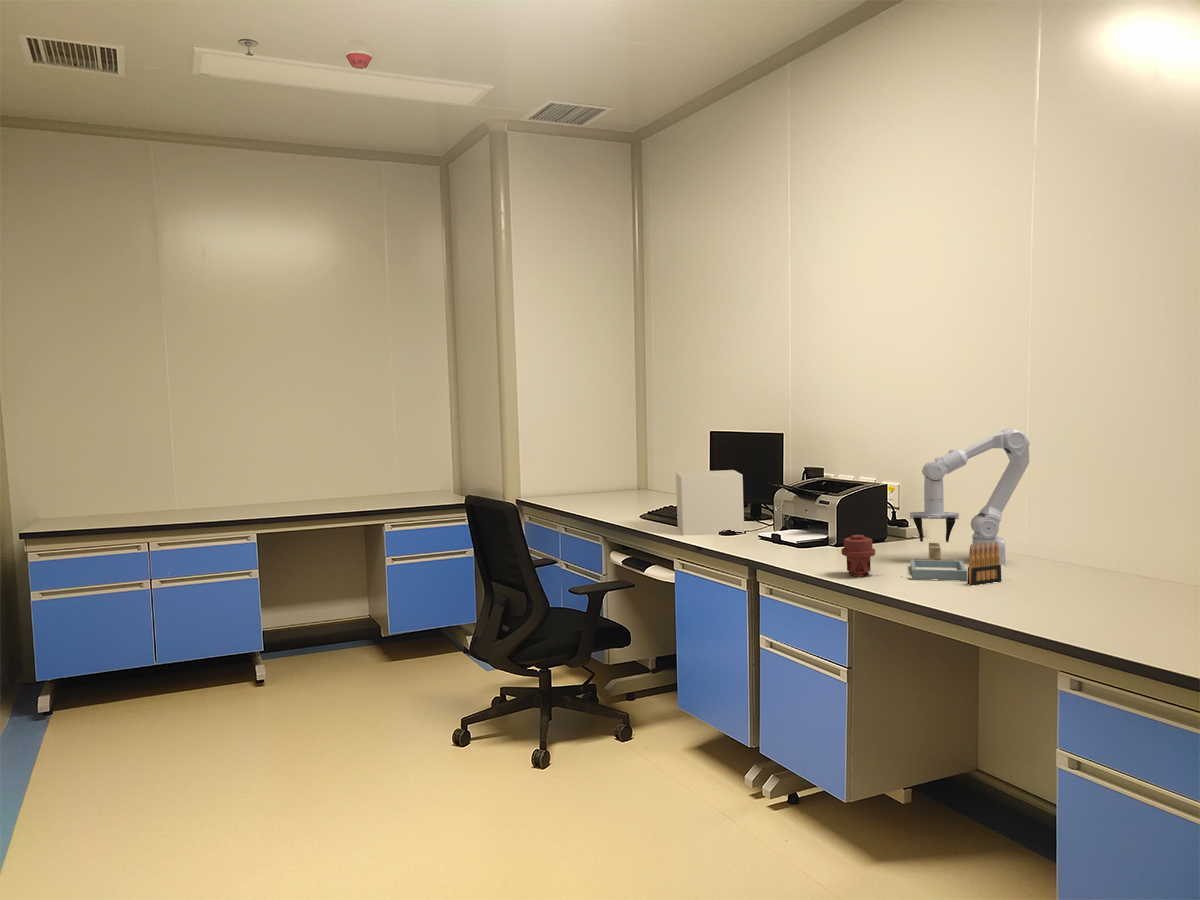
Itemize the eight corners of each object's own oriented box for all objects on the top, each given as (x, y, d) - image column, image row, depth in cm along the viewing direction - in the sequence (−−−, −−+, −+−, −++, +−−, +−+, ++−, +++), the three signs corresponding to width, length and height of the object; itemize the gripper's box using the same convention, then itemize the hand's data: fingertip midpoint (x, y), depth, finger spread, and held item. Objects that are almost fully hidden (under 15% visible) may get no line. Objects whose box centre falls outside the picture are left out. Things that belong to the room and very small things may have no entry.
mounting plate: (953, 562, 278) (953, 559, 278) (956, 569, 269) (956, 565, 268) (914, 561, 282) (914, 558, 282) (915, 568, 272) (915, 564, 272)
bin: (962, 570, 266) (962, 560, 266) (967, 581, 252) (966, 571, 252) (910, 569, 271) (910, 559, 271) (912, 579, 257) (912, 569, 256)
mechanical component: (873, 572, 269) (877, 579, 259) (840, 571, 271) (843, 578, 261) (873, 533, 268) (876, 538, 258) (840, 533, 270) (842, 538, 260)
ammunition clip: (971, 585, 246) (971, 544, 245) (967, 584, 248) (966, 543, 247) (1001, 582, 249) (1001, 541, 249) (997, 580, 251) (996, 540, 250)
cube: (735, 526, 372) (733, 469, 370) (744, 534, 351) (742, 474, 349) (677, 528, 372) (675, 472, 370) (683, 536, 350) (681, 477, 349)
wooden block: (938, 559, 279) (938, 542, 279) (940, 565, 270) (940, 547, 270) (928, 559, 280) (928, 542, 279) (930, 564, 271) (930, 547, 271)
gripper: (910, 500, 272) (910, 543, 273) (959, 500, 268) (959, 543, 269) (909, 497, 279) (909, 539, 280) (957, 497, 274) (957, 540, 275)
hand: (934, 541), depth 275 cm, fingers open, 7 cm apart
